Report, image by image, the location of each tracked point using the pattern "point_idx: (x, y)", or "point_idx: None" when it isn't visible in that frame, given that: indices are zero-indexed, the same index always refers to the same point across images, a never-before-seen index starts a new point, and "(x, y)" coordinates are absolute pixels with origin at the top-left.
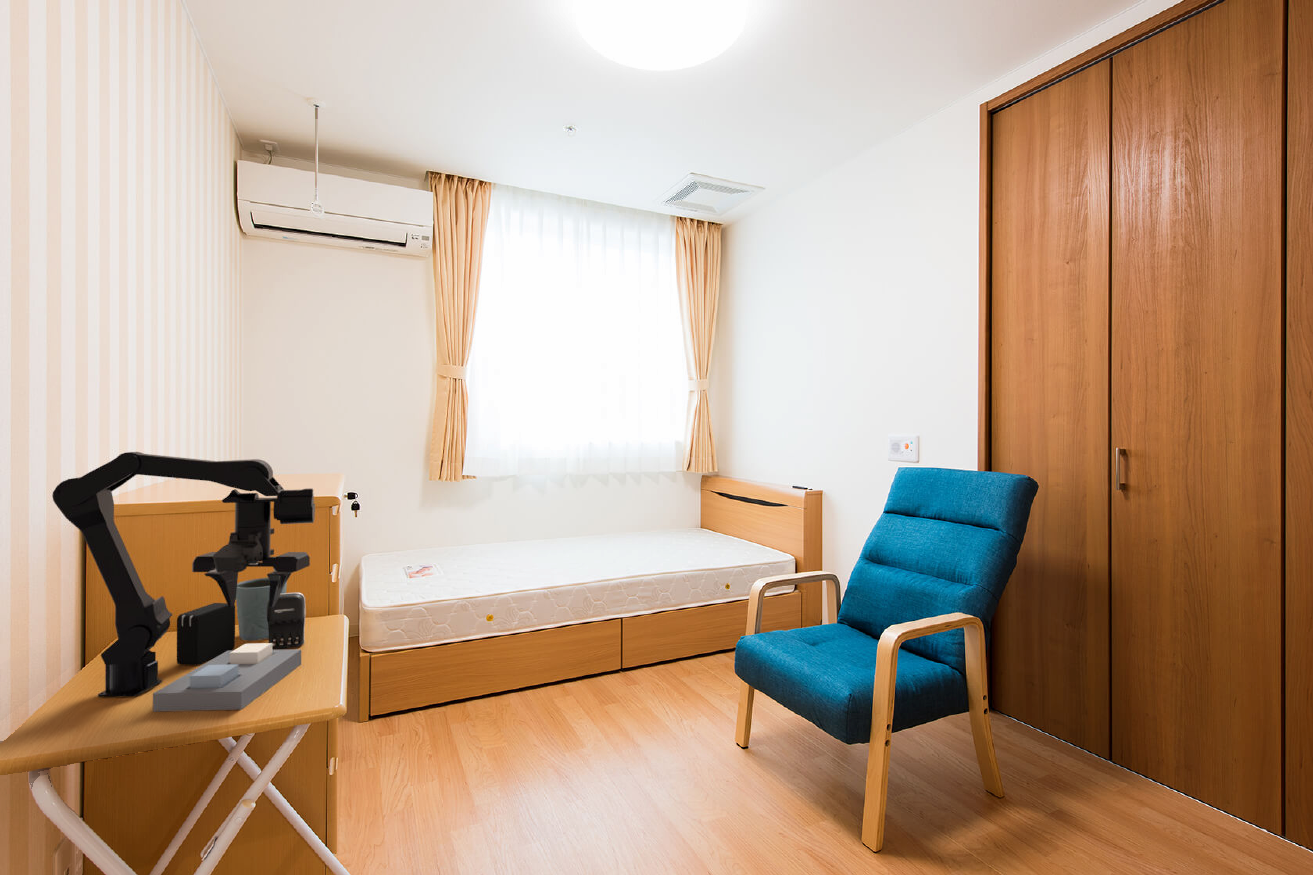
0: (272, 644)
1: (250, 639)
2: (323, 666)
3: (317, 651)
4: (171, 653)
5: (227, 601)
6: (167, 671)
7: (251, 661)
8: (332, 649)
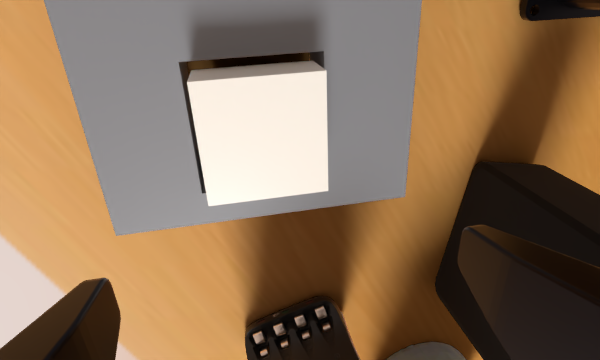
0: (323, 310)
1: (423, 344)
2: (20, 193)
3: (161, 306)
4: None
5: (527, 245)
6: (540, 115)
7: (219, 70)
8: (121, 326)
